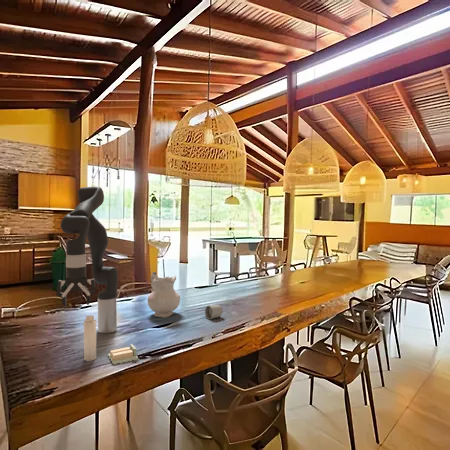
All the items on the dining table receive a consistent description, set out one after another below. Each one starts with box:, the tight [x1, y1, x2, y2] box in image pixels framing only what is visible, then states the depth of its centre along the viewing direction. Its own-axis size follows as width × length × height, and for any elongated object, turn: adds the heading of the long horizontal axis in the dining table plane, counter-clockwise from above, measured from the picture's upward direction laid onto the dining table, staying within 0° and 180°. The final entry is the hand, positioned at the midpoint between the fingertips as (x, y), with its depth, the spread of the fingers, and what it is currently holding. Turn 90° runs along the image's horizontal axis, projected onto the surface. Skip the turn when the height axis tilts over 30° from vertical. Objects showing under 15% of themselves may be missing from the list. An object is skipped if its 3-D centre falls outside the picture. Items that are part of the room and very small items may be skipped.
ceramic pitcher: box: [147, 271, 181, 319], centre depth 211 cm, size 22×20×25 cm
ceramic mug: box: [204, 304, 224, 320], centre depth 206 cm, size 11×8×8 cm
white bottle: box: [83, 315, 97, 362], centre depth 148 cm, size 5×5×18 cm
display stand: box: [107, 343, 139, 365], centre depth 149 cm, size 10×10×4 cm
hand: (76, 305), depth 142 cm, fingers open, 8 cm apart
